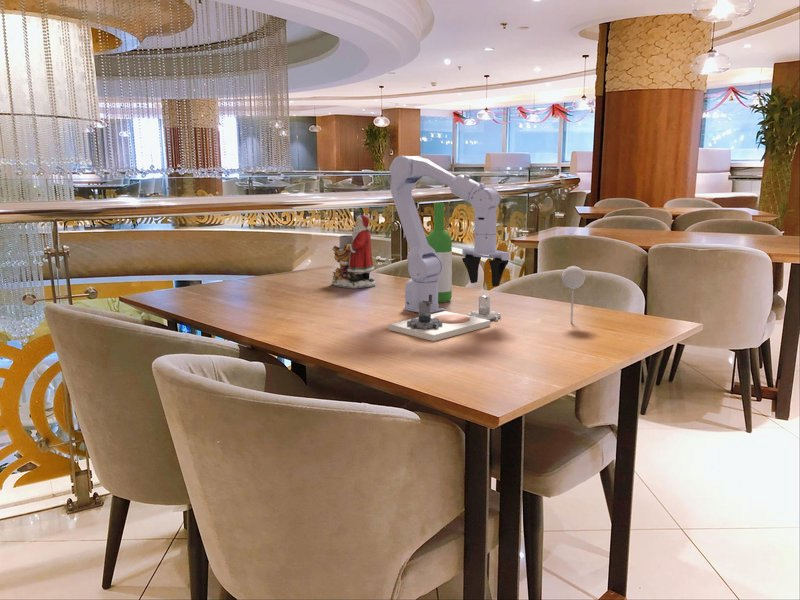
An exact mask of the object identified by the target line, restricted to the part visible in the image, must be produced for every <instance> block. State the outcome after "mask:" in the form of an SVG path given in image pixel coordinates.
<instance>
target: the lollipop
mask: <svg viewBox="0 0 800 600" xmlns="http://www.w3.org/2000/svg"><path fill="white" fill-rule="evenodd" d="M586 277H587V276H586V274H585V272H584V270H583V269H582V268H581V267H579V266H576V265H571V266H568V267H567V268H565V269H564V270H563V272H562V274H561V277H560V278H561V282H562V284H563V285H564V286H565V287H566V288H567V289H570V290H571V301H570V303H571V304H570V305H571V306H570V308H571V309H570V324H573V316H574V315H573V313H574V296H575V295H574V294H575V293H574V290H575V289H579V288H580V287H581V286H583V285H584V283H585V282H586V281H585V280H586Z"/></svg>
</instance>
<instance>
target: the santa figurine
mask: <svg viewBox="0 0 800 600" xmlns="http://www.w3.org/2000/svg"><path fill="white" fill-rule="evenodd" d="M355 218H356V219H355V220H356V221H355V223H354V227H353V229H352V233H351V235H348V234H347V235H346V234H345V235H339V237H338V238H339V245H338V246H336V245H333V247H332V248H331V249H332V251H333V254H334V260H335V261H336V262H337V263H338V264H339V267H336V269H334V270H335V271H333V272H332V274H333V276H332V280H331V284H332V286H335V287H338V288H339V287H340V288H344V289H345V288H346V289H351V290H352V289H354V290H355V289H362V288H363V289H365V288H372V287H375V286H376V284H377V281H376V280H375V279H374V278H370V273H371V271H374V270H375V265H374V261H373V257H372V254H373V253H372V238H371V230H372V228H371V226H370V219H369V217H368V215H367V216H366V215H363V214H359V215H356V217H355Z"/></svg>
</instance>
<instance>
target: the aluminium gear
mask: <svg viewBox="0 0 800 600" xmlns="http://www.w3.org/2000/svg"><path fill="white" fill-rule="evenodd" d="M467 316H472V317H476V318H481V319H486V320H490V322H491V321H496V322H497V321H499V319H501V317H502V316H501V313H500V312H499V313H498V312H497V311H495V310H492V311H491V296H490V295H484V294H483V295H479V296H478V310H476V311H475V310H471V311H470V312H469V313H467Z"/></svg>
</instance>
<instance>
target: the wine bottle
mask: <svg viewBox="0 0 800 600" xmlns="http://www.w3.org/2000/svg"><path fill="white" fill-rule="evenodd" d="M433 207H434V208H433V217H434V218H433V224H434V225H433V229H432V230H431V231H430V233H429V234H428V235H427V237H426V239H427V242H428V244H429V245H430V246H431V247H432V248H433V249H434V250H435V252H436V255H437V256H438V257H439V258H440V260H441V261H442V265H443V267H442V271H441V273H440V274H439V275H438V304H439V303H447V302H450V301H451V300H452V291H453V290H452V289H453V288H452V287H453V285H452V284H453V281H452V279H453V275H452V274H453V267H452V266H453V251H452V249H453V247H452V243H453V242H452V238H451V235H450V234H449V232H448V231H447V230H445V202H434V203H433Z"/></svg>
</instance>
